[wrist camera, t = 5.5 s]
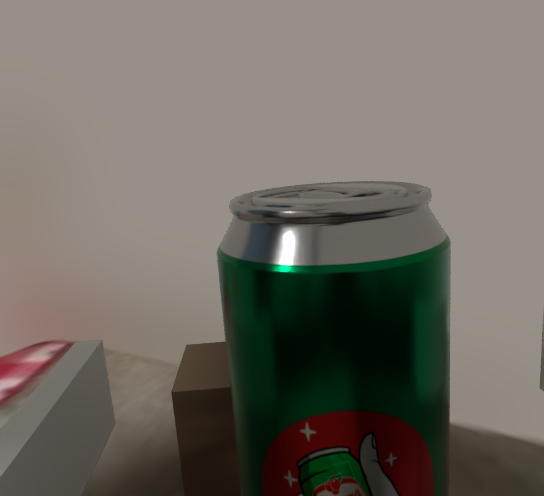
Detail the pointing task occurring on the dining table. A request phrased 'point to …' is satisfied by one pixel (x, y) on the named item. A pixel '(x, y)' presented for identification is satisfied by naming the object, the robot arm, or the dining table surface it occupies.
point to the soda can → (338, 340)
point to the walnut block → (206, 422)
